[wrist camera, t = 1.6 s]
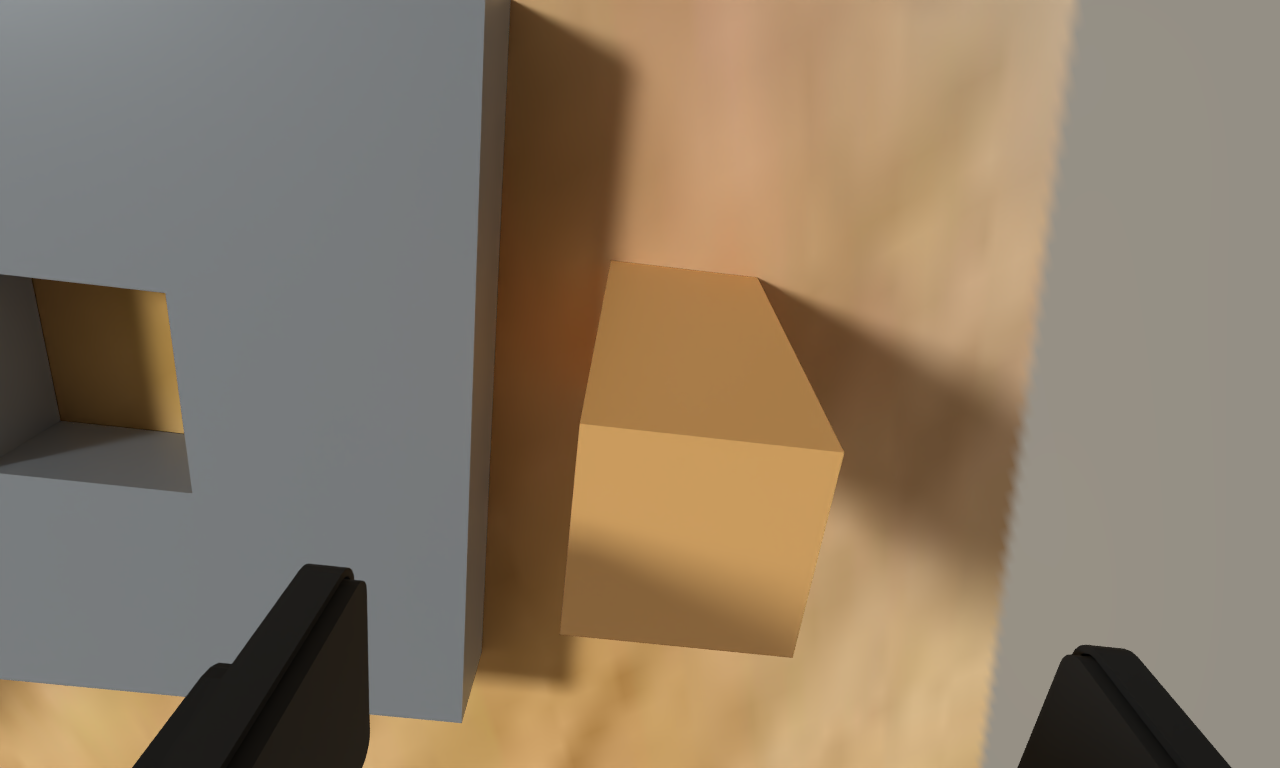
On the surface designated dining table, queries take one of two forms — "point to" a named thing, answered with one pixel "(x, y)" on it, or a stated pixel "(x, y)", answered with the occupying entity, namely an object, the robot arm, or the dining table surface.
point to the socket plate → (254, 329)
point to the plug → (696, 469)
